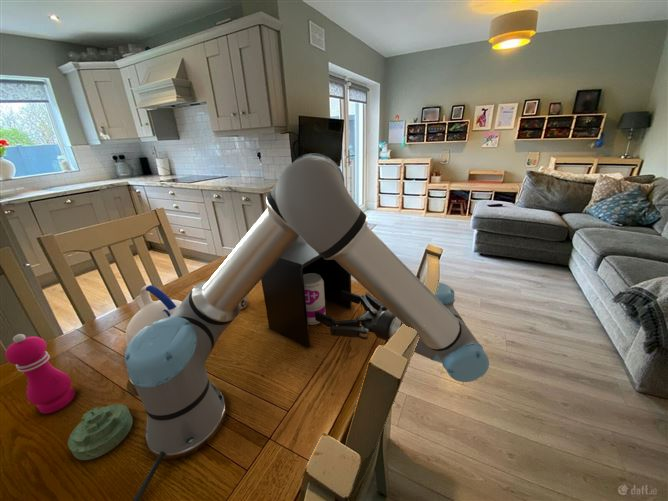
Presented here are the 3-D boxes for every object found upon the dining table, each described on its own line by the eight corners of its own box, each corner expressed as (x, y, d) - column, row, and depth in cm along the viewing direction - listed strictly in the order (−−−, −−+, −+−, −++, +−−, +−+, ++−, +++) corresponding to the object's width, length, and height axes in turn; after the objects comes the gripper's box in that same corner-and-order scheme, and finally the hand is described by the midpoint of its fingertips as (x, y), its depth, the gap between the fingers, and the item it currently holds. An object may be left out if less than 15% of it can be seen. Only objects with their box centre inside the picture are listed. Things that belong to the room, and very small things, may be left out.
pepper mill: (74, 384, 70) (38, 320, 63) (81, 399, 66) (43, 332, 58) (35, 404, 65) (-10, 337, 57) (39, 422, 61) (-9, 352, 53)
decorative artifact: (60, 452, 55) (97, 466, 52) (44, 429, 52) (82, 442, 49) (110, 408, 64) (143, 417, 61) (98, 385, 61) (133, 395, 58)
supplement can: (322, 326, 87) (319, 285, 81) (298, 324, 89) (293, 284, 83) (328, 311, 95) (326, 273, 89) (305, 309, 96) (301, 271, 90)
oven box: (354, 307, 96) (353, 235, 86) (310, 349, 78) (302, 264, 68) (316, 294, 105) (311, 227, 95) (269, 328, 87) (256, 250, 77)
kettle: (178, 310, 99) (164, 265, 92) (215, 327, 89) (203, 278, 82) (114, 345, 83) (91, 294, 76) (151, 371, 73) (128, 315, 66)
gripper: (371, 369, 66) (304, 337, 77) (410, 315, 84) (351, 296, 96) (372, 345, 63) (301, 315, 74) (412, 294, 81) (351, 277, 93)
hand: (329, 304), depth 85 cm, fingers open, 13 cm apart
